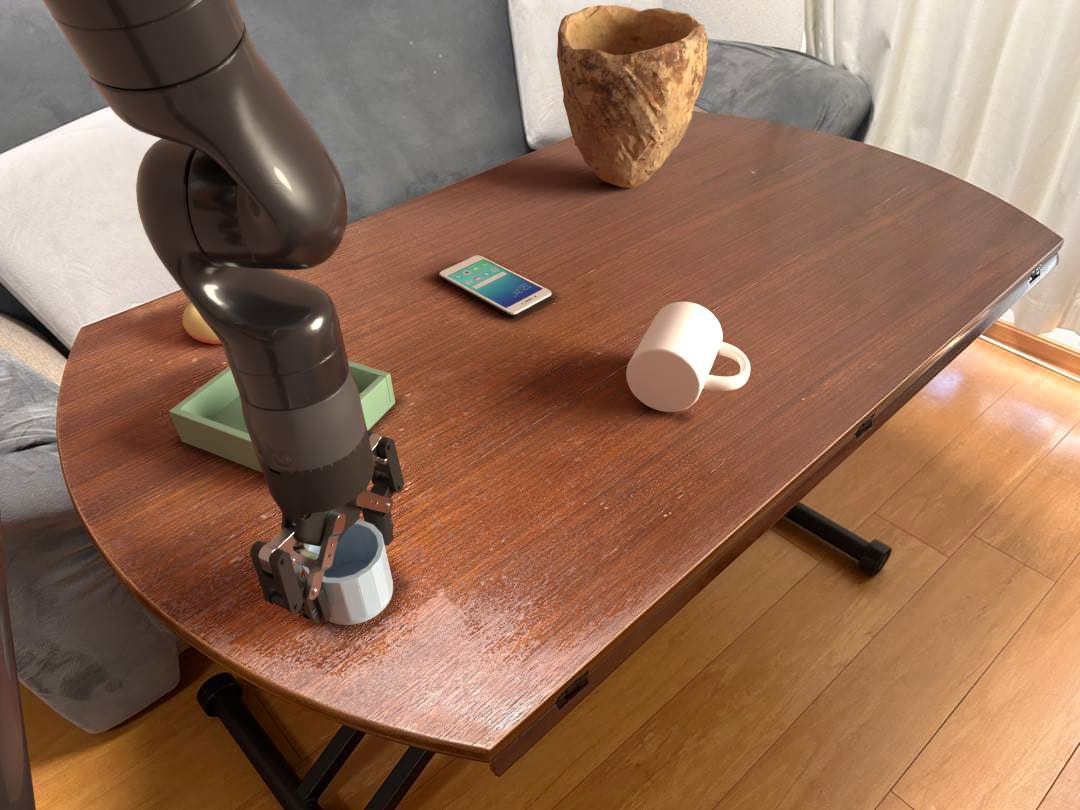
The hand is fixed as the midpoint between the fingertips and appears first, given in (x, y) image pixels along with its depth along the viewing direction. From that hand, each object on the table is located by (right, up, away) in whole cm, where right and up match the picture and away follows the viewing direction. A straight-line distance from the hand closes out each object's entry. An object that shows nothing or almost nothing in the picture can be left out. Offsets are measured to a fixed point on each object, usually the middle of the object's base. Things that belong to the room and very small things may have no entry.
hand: (351, 576), depth 62 cm
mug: (+32, +16, +21) cm, 42 cm away
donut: (-24, +24, +33) cm, 47 cm away
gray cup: (0, -2, +1) cm, 2 cm away
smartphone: (+9, +30, +39) cm, 50 cm away
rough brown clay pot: (+29, +51, +65) cm, 87 cm away
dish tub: (-11, +12, +18) cm, 24 cm away
